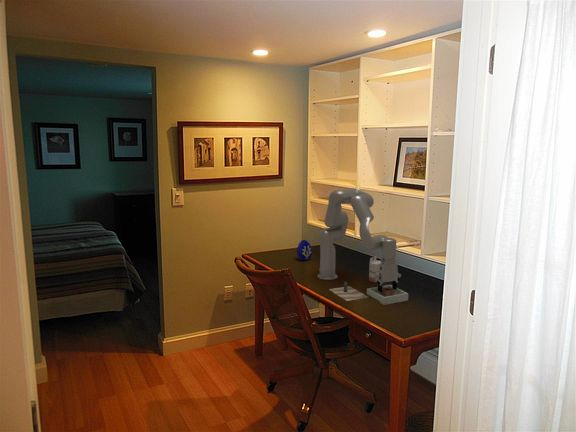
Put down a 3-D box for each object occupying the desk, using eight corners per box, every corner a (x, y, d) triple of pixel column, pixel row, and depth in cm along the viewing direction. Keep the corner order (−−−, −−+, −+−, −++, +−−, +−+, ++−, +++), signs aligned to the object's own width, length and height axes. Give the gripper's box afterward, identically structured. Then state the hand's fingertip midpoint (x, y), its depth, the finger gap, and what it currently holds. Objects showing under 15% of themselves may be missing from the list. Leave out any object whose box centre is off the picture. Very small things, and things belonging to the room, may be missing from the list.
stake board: (328, 291, 261) (328, 280, 260) (349, 287, 266) (349, 277, 265) (346, 302, 243) (347, 291, 242) (368, 298, 248) (369, 287, 247)
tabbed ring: (385, 298, 245) (386, 291, 245) (376, 293, 253) (376, 287, 252) (394, 297, 248) (395, 290, 247) (385, 292, 256) (385, 285, 255)
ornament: (300, 262, 319) (300, 241, 316) (294, 259, 327) (294, 239, 324) (313, 260, 324) (314, 240, 322) (307, 257, 332) (307, 237, 329)
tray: (366, 295, 254) (366, 288, 253) (390, 291, 260) (390, 284, 259) (383, 305, 239) (384, 297, 239) (408, 300, 246) (408, 293, 245)
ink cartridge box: (375, 283, 275) (376, 259, 272) (368, 281, 278) (369, 258, 275) (382, 279, 281) (383, 256, 279) (375, 278, 284) (376, 255, 282)
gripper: (379, 264, 239) (378, 295, 242) (405, 260, 246) (404, 290, 249) (371, 260, 246) (370, 290, 249) (397, 257, 253) (395, 286, 256)
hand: (387, 290), depth 249 cm, fingers open, 9 cm apart
